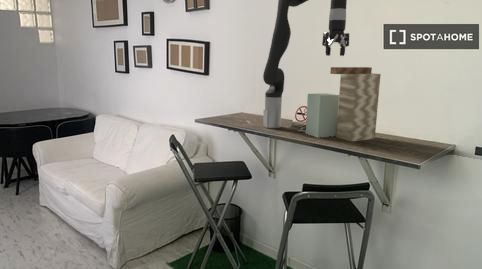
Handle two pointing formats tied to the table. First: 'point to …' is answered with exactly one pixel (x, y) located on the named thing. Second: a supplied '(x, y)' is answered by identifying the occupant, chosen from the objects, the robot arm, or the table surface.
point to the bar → (351, 70)
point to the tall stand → (358, 106)
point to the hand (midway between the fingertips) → (335, 55)
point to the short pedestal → (322, 114)
